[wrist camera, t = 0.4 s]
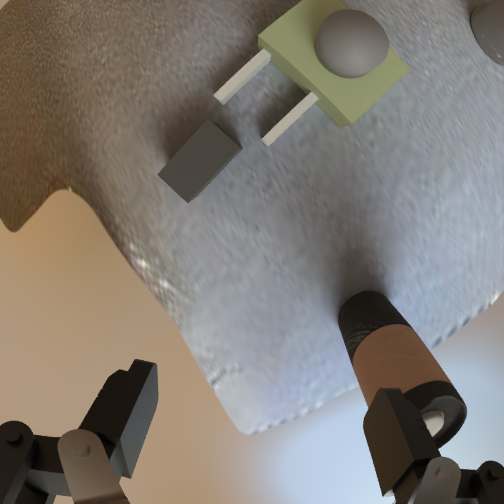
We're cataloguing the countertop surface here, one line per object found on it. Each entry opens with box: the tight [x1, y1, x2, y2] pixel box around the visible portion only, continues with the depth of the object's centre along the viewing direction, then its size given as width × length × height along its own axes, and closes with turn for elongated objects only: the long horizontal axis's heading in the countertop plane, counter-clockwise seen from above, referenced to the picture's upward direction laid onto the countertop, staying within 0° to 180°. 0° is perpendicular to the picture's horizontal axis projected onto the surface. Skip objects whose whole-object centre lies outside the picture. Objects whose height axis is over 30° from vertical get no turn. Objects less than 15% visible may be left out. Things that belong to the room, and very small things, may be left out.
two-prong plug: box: [213, 0, 410, 147], centre depth 26 cm, size 16×12×8 cm
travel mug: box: [338, 291, 467, 449], centre depth 28 cm, size 8×8×20 cm
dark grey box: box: [158, 119, 242, 203], centre depth 30 cm, size 7×4×5 cm, turn 136°
